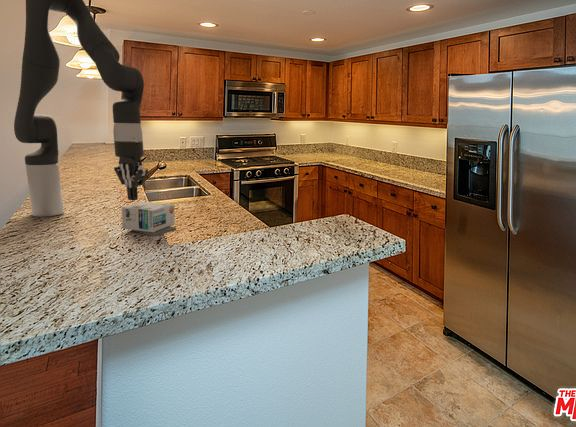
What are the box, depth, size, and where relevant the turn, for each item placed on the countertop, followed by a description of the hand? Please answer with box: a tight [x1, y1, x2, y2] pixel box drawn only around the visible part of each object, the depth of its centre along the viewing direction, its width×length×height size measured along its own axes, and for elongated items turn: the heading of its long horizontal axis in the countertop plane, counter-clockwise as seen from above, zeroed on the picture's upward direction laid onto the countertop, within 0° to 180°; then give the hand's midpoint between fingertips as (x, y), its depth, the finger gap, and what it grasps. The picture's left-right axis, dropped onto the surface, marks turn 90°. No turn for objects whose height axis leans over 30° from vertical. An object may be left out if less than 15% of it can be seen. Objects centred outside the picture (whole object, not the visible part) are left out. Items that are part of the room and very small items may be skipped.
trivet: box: [131, 226, 177, 237], centre depth 109 cm, size 10×8×1 cm
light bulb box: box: [121, 201, 176, 233], centre depth 109 cm, size 11×7×11 cm
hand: (132, 199), depth 107 cm, fingers closed
